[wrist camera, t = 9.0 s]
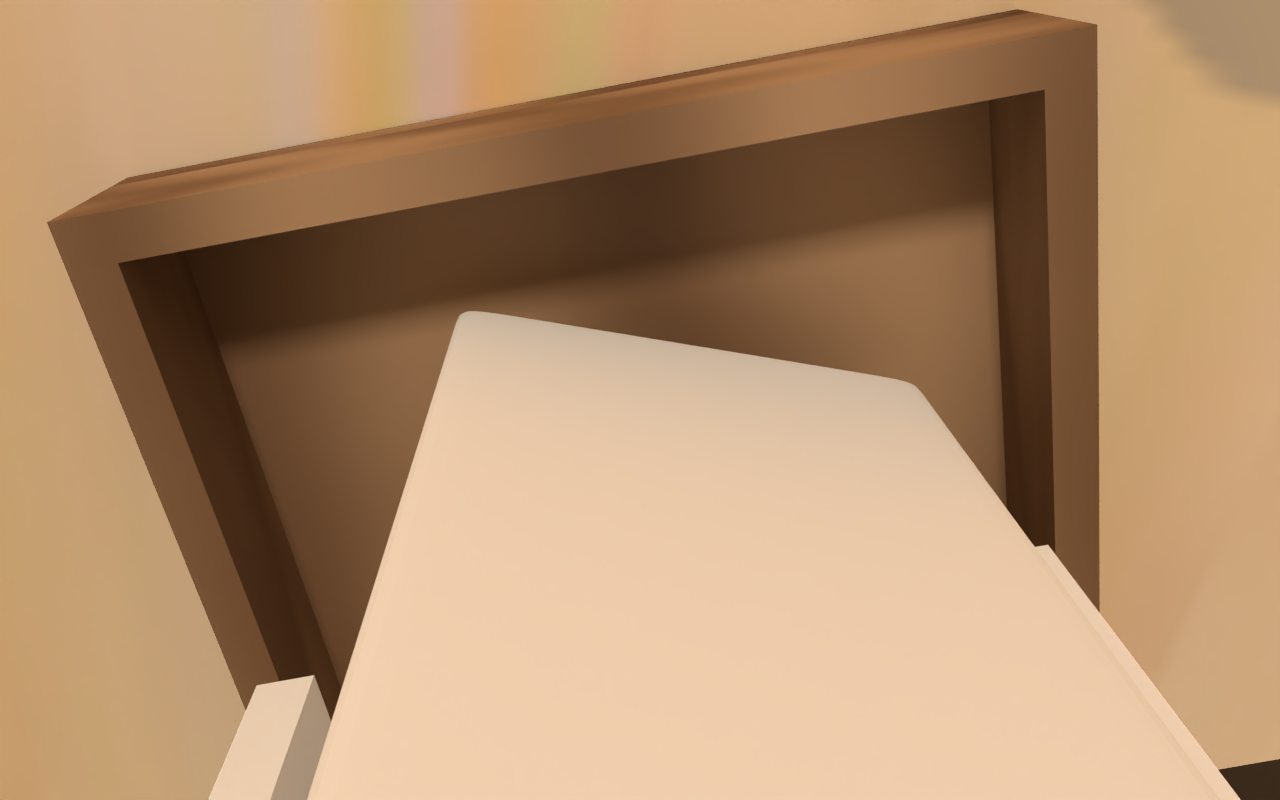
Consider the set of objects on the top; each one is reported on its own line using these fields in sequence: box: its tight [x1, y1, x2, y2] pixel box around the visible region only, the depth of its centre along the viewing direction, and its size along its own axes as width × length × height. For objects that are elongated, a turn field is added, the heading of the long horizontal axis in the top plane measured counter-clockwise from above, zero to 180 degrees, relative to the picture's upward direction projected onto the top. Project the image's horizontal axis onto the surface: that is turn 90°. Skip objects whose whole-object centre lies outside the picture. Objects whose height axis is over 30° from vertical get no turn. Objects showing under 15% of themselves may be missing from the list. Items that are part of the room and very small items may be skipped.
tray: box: [47, 9, 1099, 721], centre depth 18 cm, size 14×14×3 cm
